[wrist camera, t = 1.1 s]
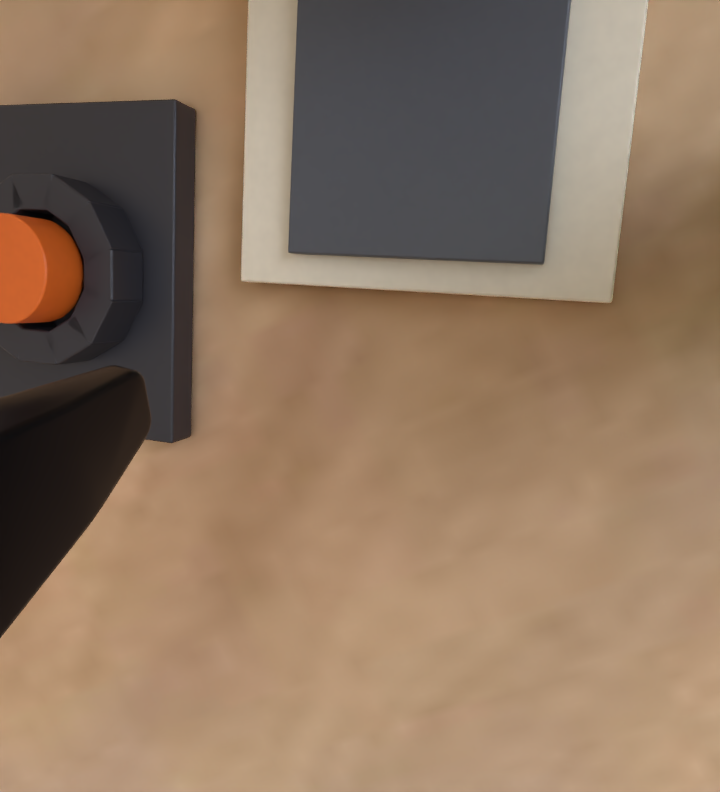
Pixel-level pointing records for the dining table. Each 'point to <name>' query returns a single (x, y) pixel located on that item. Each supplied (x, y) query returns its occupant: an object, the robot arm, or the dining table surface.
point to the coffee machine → (439, 144)
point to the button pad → (109, 244)
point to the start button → (37, 270)
